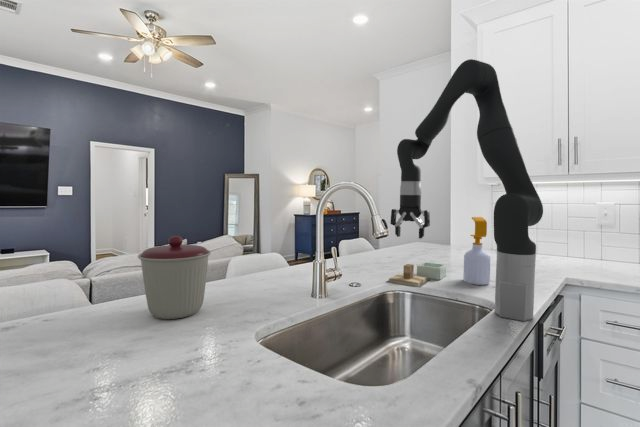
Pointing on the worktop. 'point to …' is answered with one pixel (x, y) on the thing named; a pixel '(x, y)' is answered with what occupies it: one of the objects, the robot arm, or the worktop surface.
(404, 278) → the lid
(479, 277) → the soap bottle
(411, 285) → the mat
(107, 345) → the worktop surface
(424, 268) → the pale green open box
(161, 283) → the canister
